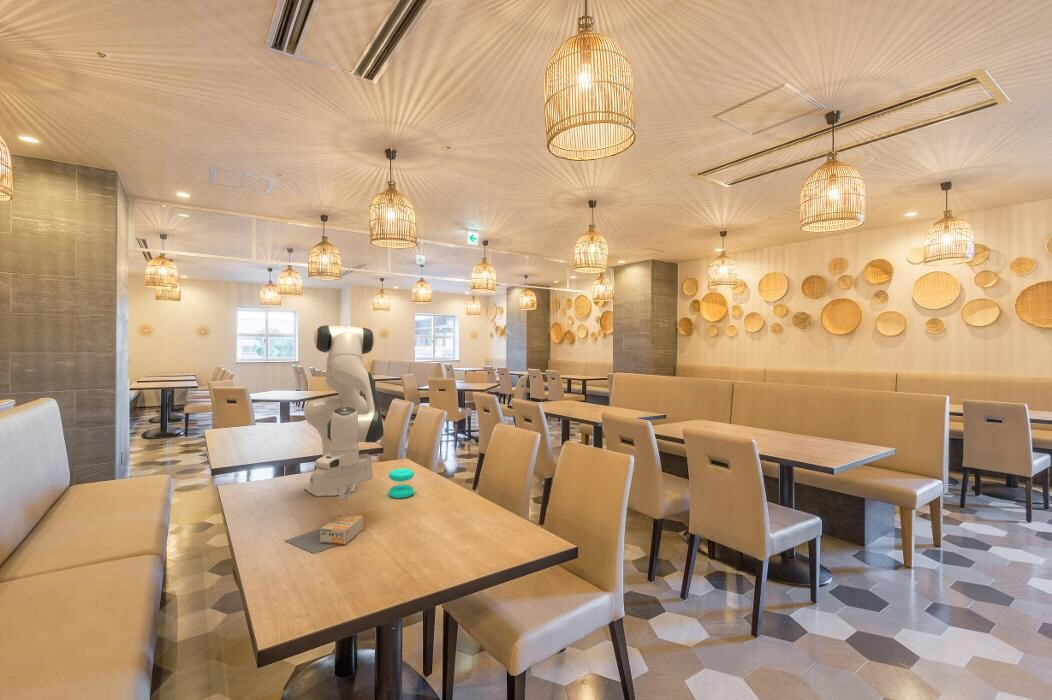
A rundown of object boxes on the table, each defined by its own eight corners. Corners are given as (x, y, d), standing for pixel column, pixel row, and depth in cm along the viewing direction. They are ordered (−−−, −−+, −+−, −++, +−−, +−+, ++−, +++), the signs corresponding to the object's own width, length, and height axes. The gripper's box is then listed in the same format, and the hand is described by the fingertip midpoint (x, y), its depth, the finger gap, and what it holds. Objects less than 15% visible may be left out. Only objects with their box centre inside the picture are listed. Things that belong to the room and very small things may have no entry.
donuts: (395, 467, 203) (418, 468, 201) (395, 490, 204) (417, 492, 202) (384, 473, 194) (407, 474, 192) (384, 498, 194) (407, 500, 192)
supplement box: (364, 514, 161) (346, 529, 148) (363, 529, 161) (345, 545, 148) (340, 513, 161) (320, 527, 148) (339, 527, 161) (319, 543, 148)
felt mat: (284, 541, 150) (284, 540, 150) (325, 527, 162) (325, 526, 162) (314, 554, 141) (314, 553, 141) (355, 538, 153) (355, 538, 153)
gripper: (365, 450, 170) (364, 490, 170) (310, 462, 153) (310, 505, 153) (376, 453, 166) (376, 493, 166) (322, 464, 149) (322, 509, 150)
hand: (344, 499), depth 160 cm, fingers closed
